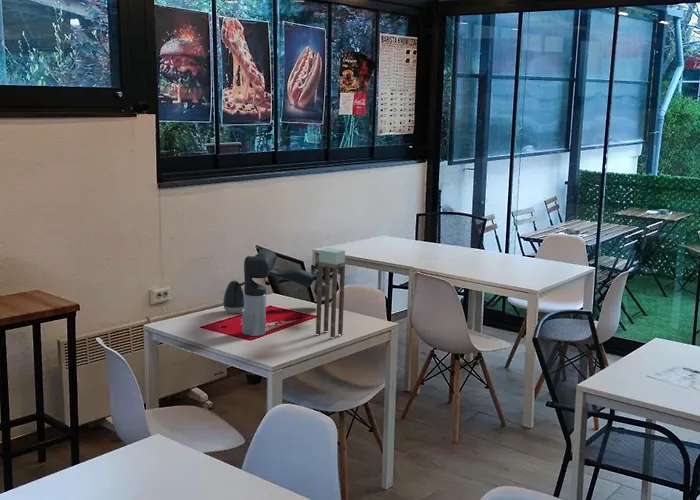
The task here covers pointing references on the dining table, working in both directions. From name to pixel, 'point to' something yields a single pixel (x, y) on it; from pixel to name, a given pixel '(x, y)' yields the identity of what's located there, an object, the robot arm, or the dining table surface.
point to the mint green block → (331, 256)
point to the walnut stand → (334, 292)
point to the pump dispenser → (234, 298)
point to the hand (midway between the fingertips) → (327, 264)
